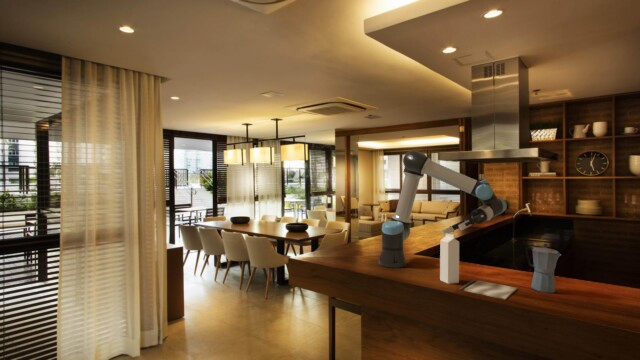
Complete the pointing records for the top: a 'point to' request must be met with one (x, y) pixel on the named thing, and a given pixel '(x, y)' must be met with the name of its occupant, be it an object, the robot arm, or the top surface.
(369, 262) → the top surface
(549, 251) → the moka pot
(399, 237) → the robot arm
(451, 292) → the top surface
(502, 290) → the mat
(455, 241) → the milk
